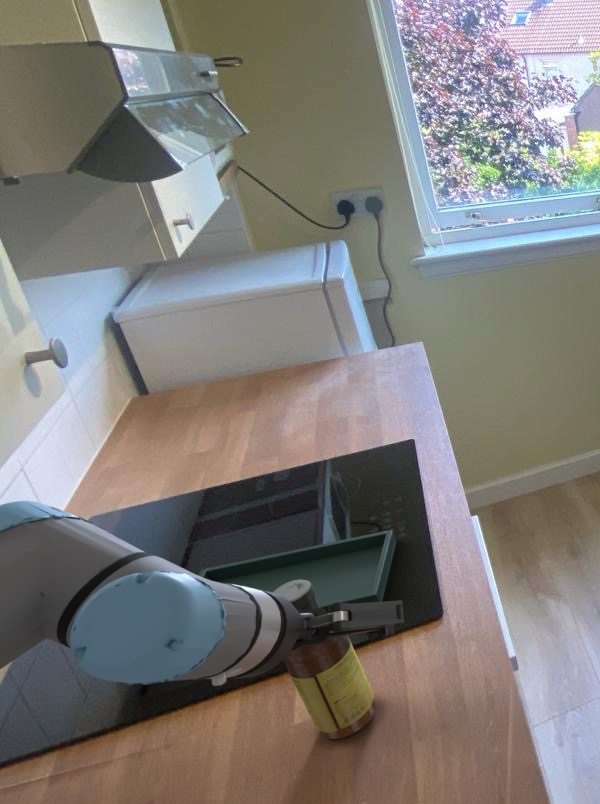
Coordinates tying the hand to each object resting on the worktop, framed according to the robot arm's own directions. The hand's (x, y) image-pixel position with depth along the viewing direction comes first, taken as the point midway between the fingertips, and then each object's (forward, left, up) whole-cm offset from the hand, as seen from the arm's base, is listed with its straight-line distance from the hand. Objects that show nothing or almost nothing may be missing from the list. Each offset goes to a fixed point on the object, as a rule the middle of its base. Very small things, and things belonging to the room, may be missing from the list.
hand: (324, 639), depth 84 cm
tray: (-12, +25, -11) cm, 30 cm away
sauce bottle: (0, -2, -11) cm, 11 cm away
